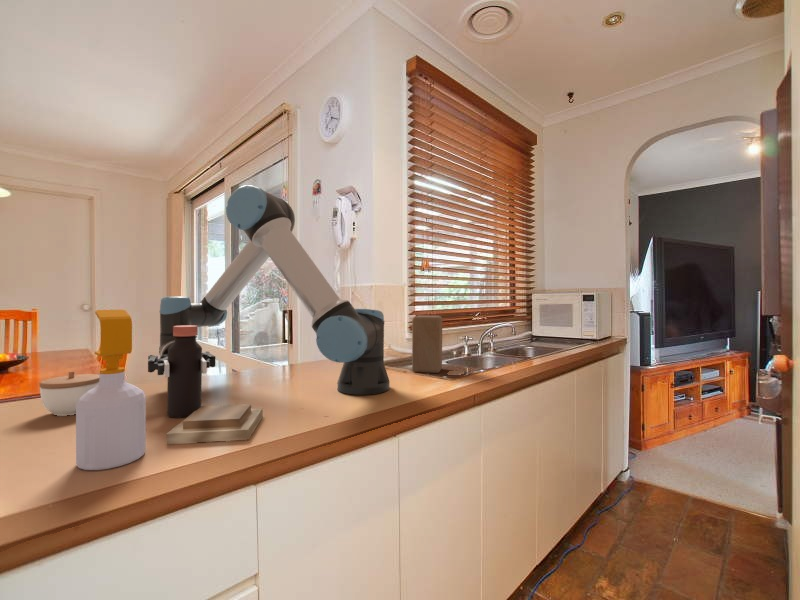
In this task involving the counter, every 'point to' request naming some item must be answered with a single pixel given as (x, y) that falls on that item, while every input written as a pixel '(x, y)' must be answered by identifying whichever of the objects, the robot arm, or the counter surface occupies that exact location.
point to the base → (215, 432)
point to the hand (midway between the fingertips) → (186, 369)
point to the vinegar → (184, 372)
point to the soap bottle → (111, 404)
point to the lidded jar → (66, 392)
